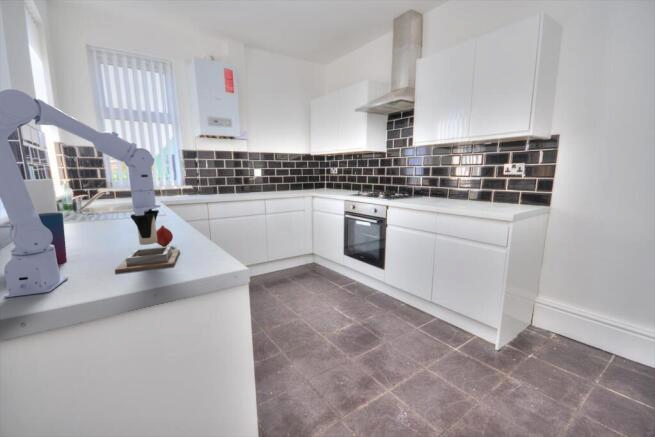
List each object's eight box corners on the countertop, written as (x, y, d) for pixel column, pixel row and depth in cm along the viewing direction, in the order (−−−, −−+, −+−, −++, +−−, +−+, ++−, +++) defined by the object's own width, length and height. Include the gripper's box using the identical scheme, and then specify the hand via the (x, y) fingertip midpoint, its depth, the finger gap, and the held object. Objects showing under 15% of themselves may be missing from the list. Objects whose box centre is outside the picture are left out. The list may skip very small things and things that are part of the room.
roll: (155, 243, 85) (152, 216, 84) (137, 245, 84) (133, 218, 82) (159, 240, 90) (155, 214, 88) (142, 241, 88) (138, 215, 87)
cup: (76, 259, 90) (68, 212, 88) (54, 266, 84) (45, 215, 81) (57, 259, 91) (48, 212, 89) (33, 266, 84) (23, 215, 82)
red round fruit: (151, 247, 103) (149, 226, 102) (167, 244, 109) (164, 223, 107) (161, 249, 101) (159, 227, 100) (177, 245, 106) (174, 224, 105)
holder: (173, 266, 83) (172, 256, 82) (115, 273, 78) (113, 262, 77) (179, 252, 98) (178, 243, 97) (131, 256, 93) (130, 247, 92)
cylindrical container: (46, 260, 90) (31, 179, 86) (28, 259, 91) (13, 180, 87) (70, 254, 97) (58, 179, 93) (54, 253, 98) (40, 179, 94)
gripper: (153, 191, 79) (159, 240, 81) (162, 188, 92) (167, 230, 95) (122, 192, 76) (129, 242, 79) (136, 189, 90) (142, 232, 92)
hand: (148, 236), depth 86 cm, fingers closed on roll, 5 cm apart
